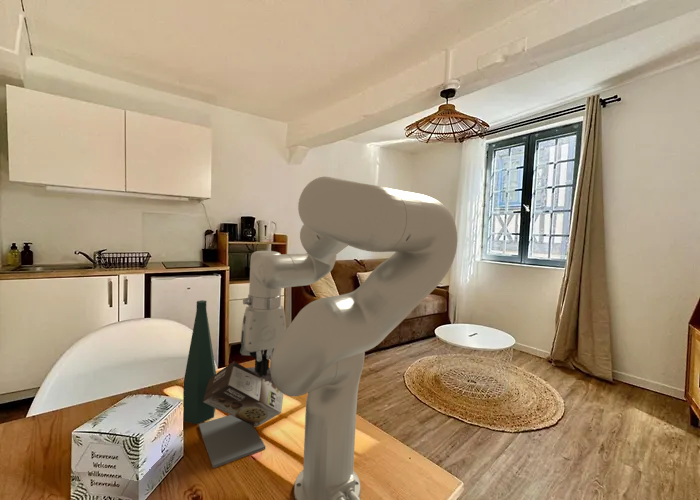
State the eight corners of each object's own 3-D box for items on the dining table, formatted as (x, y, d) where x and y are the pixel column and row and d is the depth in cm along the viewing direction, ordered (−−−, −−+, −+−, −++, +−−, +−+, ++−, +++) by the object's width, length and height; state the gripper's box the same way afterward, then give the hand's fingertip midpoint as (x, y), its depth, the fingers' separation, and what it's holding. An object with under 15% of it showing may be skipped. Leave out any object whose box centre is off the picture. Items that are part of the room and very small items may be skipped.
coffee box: (284, 389, 81) (235, 359, 73) (281, 413, 75) (228, 384, 68) (259, 403, 83) (209, 376, 76) (255, 428, 78) (200, 402, 70)
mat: (265, 448, 71) (265, 446, 71) (213, 468, 64) (213, 465, 64) (244, 413, 84) (244, 410, 84) (198, 426, 77) (198, 424, 77)
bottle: (213, 403, 87) (215, 297, 85) (218, 418, 81) (221, 303, 79) (181, 411, 83) (182, 299, 81) (184, 427, 76) (185, 306, 75)
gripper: (237, 308, 69) (234, 388, 71) (299, 302, 78) (295, 373, 79) (229, 300, 75) (226, 374, 77) (287, 295, 84) (283, 361, 86)
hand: (261, 373), depth 78 cm, fingers closed
